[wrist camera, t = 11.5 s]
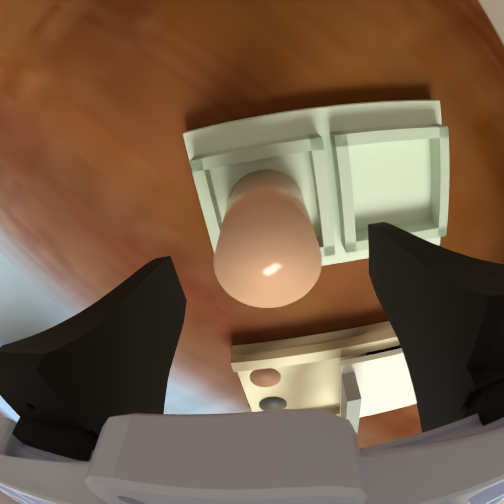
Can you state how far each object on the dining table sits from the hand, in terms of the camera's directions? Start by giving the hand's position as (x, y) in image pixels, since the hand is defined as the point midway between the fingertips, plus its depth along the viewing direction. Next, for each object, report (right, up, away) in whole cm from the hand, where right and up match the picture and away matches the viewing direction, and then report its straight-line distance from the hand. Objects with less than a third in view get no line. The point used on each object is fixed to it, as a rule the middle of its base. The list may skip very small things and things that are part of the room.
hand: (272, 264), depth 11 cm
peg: (0, +3, +6) cm, 6 cm away
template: (+7, -10, +13) cm, 18 cm away
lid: (+11, -10, +11) cm, 19 cm away
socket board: (+4, +4, +6) cm, 8 cm away
